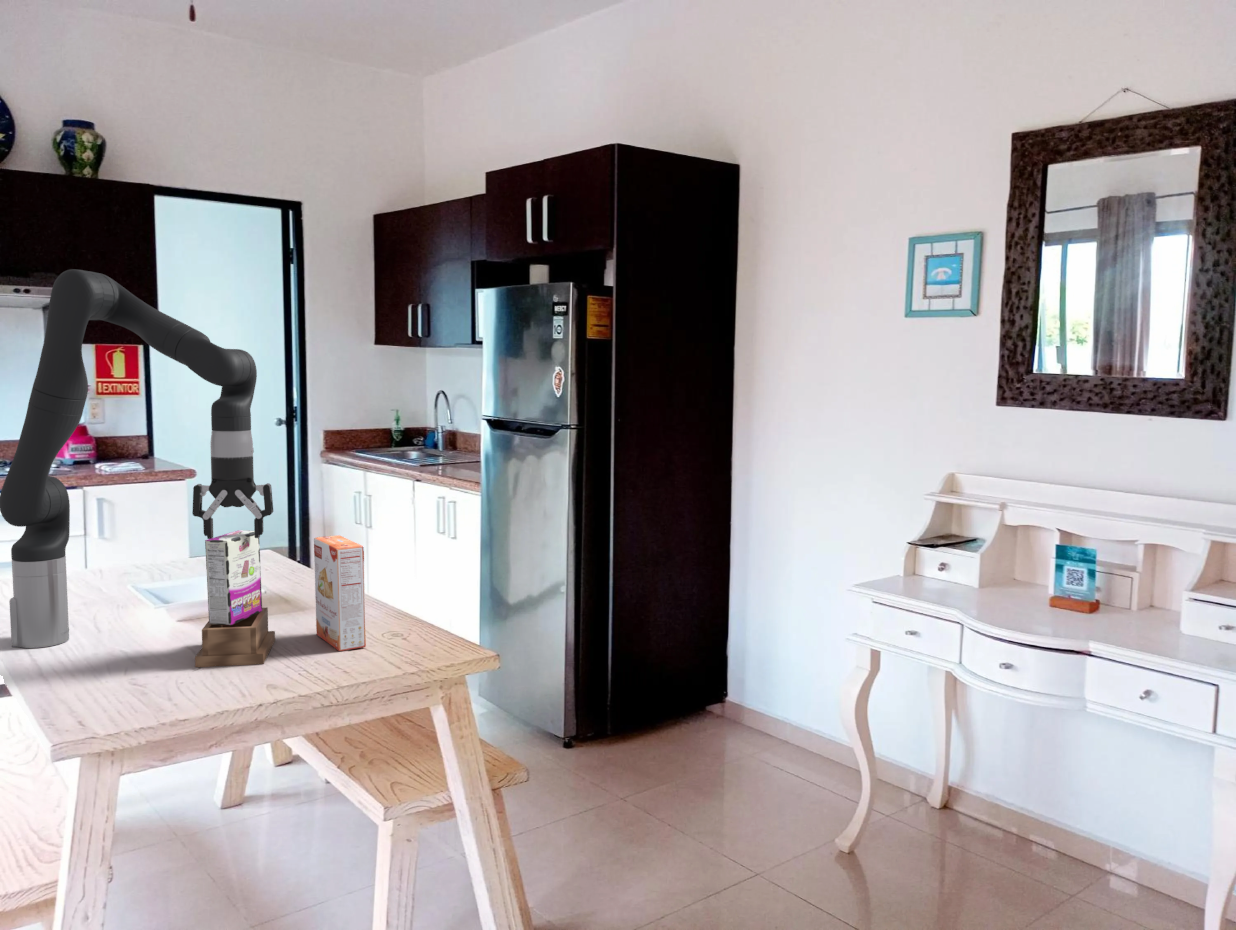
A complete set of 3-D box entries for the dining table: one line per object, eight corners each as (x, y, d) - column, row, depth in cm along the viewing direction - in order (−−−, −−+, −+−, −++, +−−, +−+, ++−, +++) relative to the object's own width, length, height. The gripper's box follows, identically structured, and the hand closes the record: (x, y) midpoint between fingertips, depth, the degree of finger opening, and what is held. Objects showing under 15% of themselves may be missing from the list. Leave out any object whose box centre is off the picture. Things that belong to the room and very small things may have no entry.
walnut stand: (195, 667, 179) (194, 630, 179) (212, 643, 195) (211, 609, 194) (263, 663, 182) (262, 627, 181) (275, 640, 197) (274, 606, 197)
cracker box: (314, 636, 201) (312, 536, 199) (342, 631, 205) (341, 534, 203) (337, 652, 190) (335, 547, 188) (366, 647, 193) (365, 544, 191)
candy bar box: (240, 610, 194) (238, 529, 192) (263, 611, 193) (261, 530, 191) (206, 624, 183) (203, 538, 181) (230, 626, 182) (227, 540, 180)
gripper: (187, 456, 179) (190, 542, 181) (268, 455, 182) (270, 540, 184) (196, 452, 187) (198, 535, 188) (274, 452, 190) (275, 533, 191)
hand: (234, 537), depth 186 cm, fingers open, 8 cm apart
